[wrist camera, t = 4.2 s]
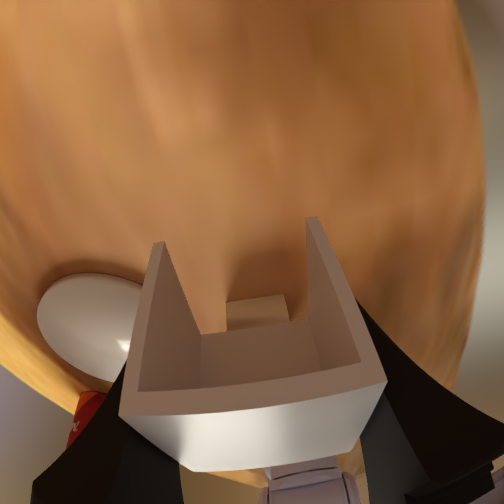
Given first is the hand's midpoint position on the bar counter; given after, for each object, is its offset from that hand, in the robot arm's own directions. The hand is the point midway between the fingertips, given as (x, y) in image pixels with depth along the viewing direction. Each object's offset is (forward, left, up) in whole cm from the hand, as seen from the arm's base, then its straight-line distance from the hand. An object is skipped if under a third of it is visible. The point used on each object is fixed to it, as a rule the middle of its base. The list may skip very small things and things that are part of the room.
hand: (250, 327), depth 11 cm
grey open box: (0, 0, -2) cm, 2 cm away
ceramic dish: (-13, +8, -8) cm, 17 cm away
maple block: (-9, -3, -8) cm, 12 cm away
